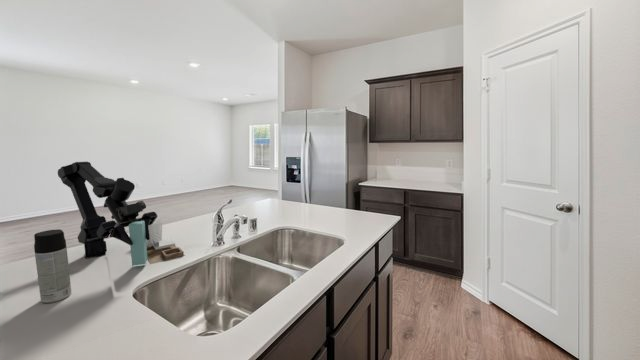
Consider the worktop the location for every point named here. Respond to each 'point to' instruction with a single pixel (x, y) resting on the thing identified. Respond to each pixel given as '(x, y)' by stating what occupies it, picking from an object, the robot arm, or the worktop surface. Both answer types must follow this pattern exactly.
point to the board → (163, 254)
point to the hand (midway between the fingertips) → (140, 242)
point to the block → (138, 243)
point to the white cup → (155, 231)
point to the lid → (162, 243)
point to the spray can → (52, 265)
